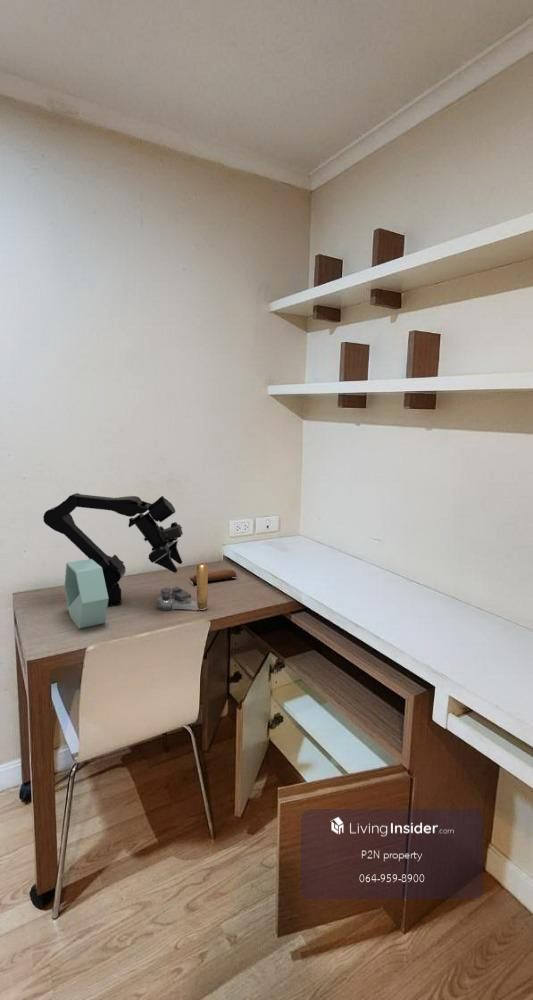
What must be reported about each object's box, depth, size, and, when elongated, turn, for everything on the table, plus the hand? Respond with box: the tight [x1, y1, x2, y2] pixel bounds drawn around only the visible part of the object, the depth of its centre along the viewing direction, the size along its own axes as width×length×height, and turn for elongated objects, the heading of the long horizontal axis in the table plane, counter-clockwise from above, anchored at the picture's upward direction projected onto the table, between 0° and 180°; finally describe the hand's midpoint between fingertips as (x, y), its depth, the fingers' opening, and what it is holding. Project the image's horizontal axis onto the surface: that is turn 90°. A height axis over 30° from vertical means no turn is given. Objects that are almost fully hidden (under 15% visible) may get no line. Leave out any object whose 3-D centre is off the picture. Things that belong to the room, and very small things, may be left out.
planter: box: [63, 558, 109, 629], centre depth 156 cm, size 17×8×21 cm
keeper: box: [171, 586, 192, 601], centre depth 173 cm, size 4×8×4 cm, turn 38°
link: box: [156, 562, 209, 611], centre depth 167 cm, size 17×6×15 cm, turn 88°
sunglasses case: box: [189, 568, 237, 584], centre depth 197 cm, size 18×7×7 cm
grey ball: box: [160, 587, 172, 600], centre depth 168 cm, size 3×3×3 cm
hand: (178, 567), depth 169 cm, fingers open, 9 cm apart
